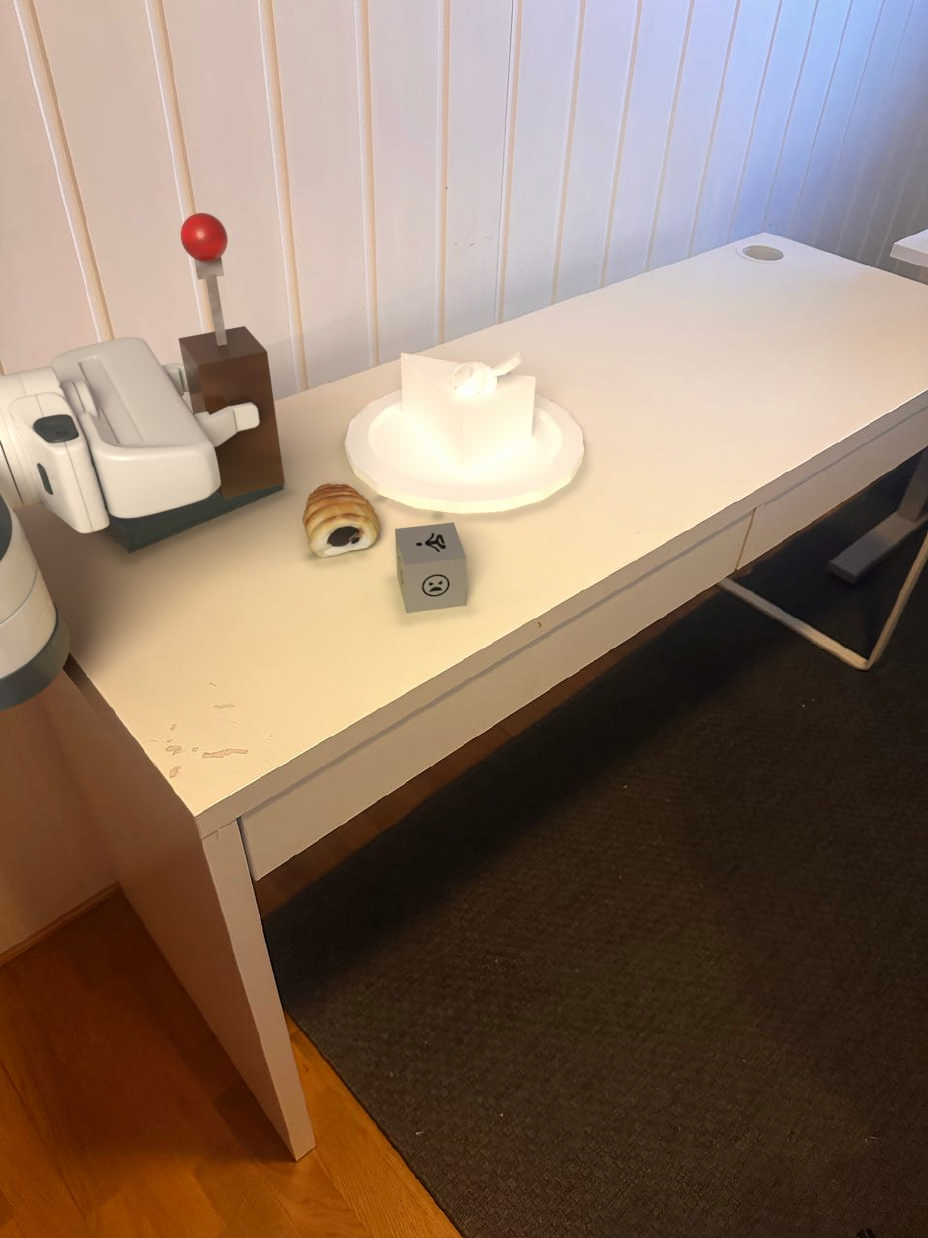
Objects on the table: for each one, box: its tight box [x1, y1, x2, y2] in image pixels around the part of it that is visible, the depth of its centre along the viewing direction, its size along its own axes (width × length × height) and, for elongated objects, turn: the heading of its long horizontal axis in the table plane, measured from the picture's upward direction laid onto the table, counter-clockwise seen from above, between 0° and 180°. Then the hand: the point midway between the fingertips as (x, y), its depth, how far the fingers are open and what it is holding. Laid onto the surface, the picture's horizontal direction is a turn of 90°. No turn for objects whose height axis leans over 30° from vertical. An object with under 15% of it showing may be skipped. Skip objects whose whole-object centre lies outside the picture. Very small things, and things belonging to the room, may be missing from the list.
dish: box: [344, 351, 585, 515], centre depth 90 cm, size 25×25×11 cm
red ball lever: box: [178, 212, 286, 499], centre depth 65 cm, size 5×5×20 cm
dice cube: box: [394, 522, 467, 614], centre depth 75 cm, size 5×5×5 cm
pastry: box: [301, 483, 381, 558], centre depth 82 cm, size 9×7×4 cm
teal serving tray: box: [104, 484, 285, 554], centre depth 87 cm, size 16×13×2 cm
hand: (242, 393), depth 67 cm, fingers closed on red ball lever, 5 cm apart
